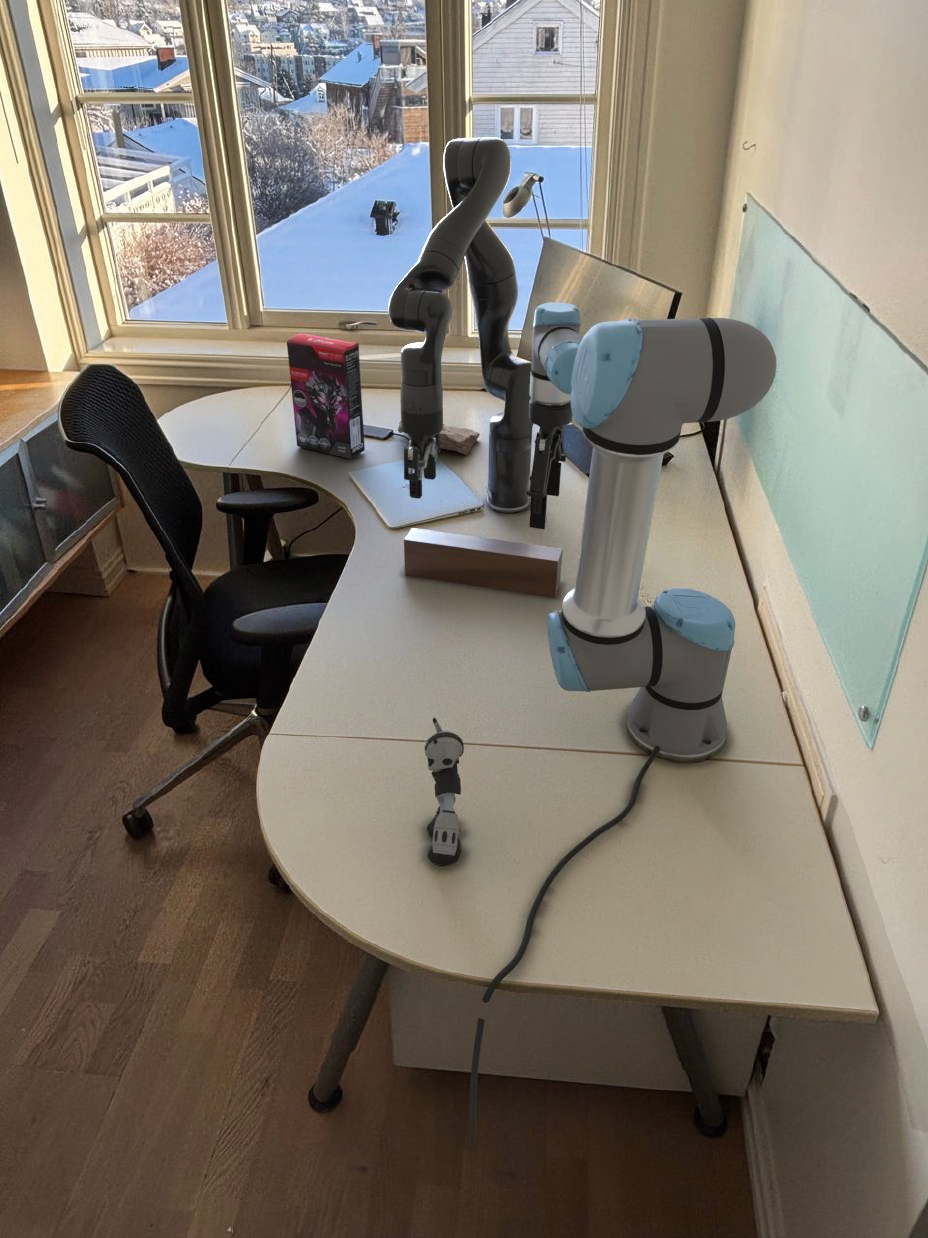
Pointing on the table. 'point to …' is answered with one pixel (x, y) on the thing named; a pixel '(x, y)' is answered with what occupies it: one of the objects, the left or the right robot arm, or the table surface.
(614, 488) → the right robot arm
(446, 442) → the stone
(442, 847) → the robot
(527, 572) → the beam
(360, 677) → the table surface
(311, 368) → the graphics card box
